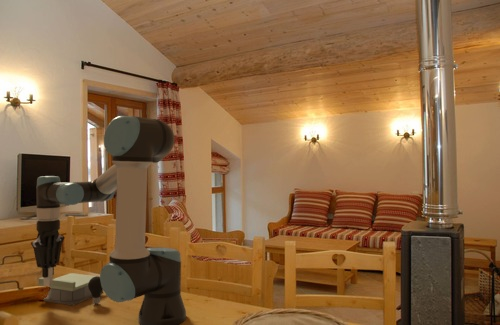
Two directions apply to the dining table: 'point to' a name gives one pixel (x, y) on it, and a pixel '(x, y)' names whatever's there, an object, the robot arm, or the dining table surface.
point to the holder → (68, 296)
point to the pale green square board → (69, 281)
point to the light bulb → (95, 289)
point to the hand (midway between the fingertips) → (48, 285)
